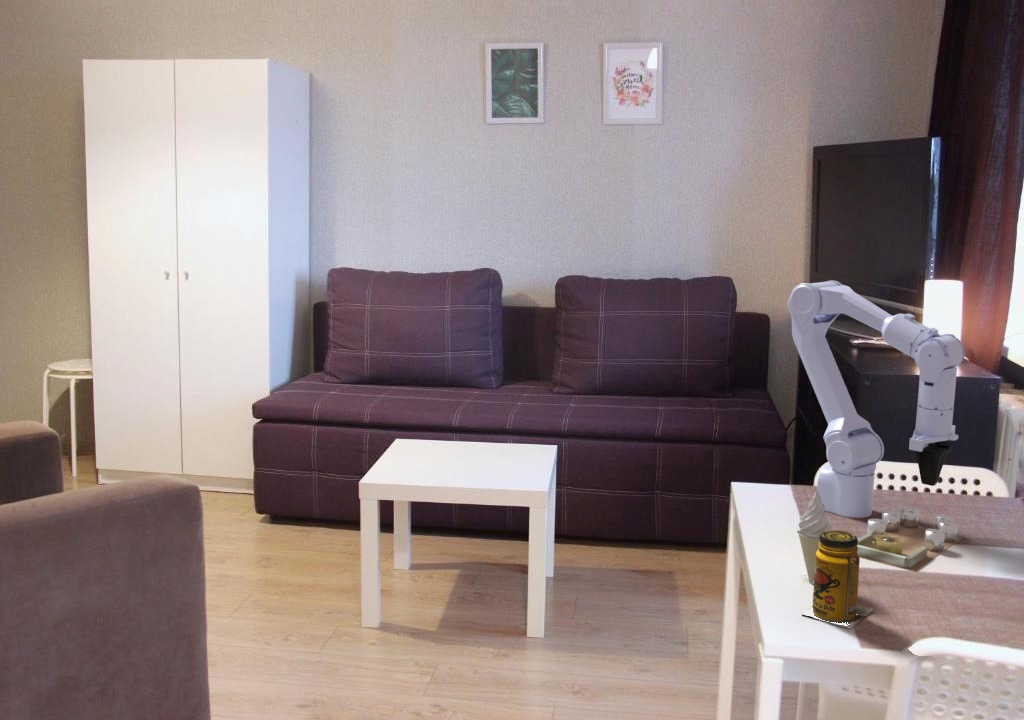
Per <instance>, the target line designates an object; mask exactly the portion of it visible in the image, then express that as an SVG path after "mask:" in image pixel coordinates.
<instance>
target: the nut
mask: <svg viewBox="0 0 1024 720" xmlns="http://www.w3.org/2000/svg"><path fill="white" fill-rule="evenodd" d="M902 545H903V542H902V540H901V538H899V537H895V536H890V535H879V536H875V542H874V549H877V550H881V551H885V552H889V553H893V554H897V555H901V556H902Z"/></svg>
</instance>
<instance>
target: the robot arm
mask: <svg viewBox="0 0 1024 720" xmlns="http://www.w3.org/2000/svg"><path fill="white" fill-rule="evenodd" d="M787 300H788V301H787V302H786V307H787V309H788V311H789V314H790V317H791V336H792V339H793V343H794V345H795V347H796V350H797V351H798V354H799V357H800V359H801V361H802V364H803V366H804V369H805V372H806V374H807V376H808V379H809V381H810V383H811V386H812V388H813V390H814V391H813V392H814V394H815V395H816V398H817V401H818V403H819V405H820V407H821V410H822V413H823V415H824V418H825V420H826V422H827V428H826V430H825V432H824V435H823V441H824V443H825V446H826V451H825V452H826V453H825V454H826V459H827V462H828V463H829V465H828V464H827V465H825V466H823V467H822V468H821V470H820V472H819V474H818V478H817V484H816V490H818V493H819V496H820V499H821V501H822V503H823V505H824V507H825V509H824V510H825V512H829V513H832V514H835V515H838V516H841V517H846V518H854V519H855V518H856V519H858V518H859V519H861V518H862V519H863V518H866V517H870V516H871V515H872V513H873V501H874V487H875V486H874V485H875V476H876V475H875V473H876V472H875V471H876V469H877V463H879V462H880V461H881V460H882V458H883V457H884V452H885V446H884V442H883V440H882V438H881V437H880V436H879V435H878V434H877V433H876V432H875V431H874V429H872V426H871V423H870V422H869V421H868V420H867V419H865V418H863V417H862V416H860V415H859V414H858V412H857V409H856V408H855V405H854V403H853V399H852V398H851V396H850V394H849V393H850V392H849V391H848V387H847V386H846V384H845V381H844V378H843V377H842V374H841V371H840V369H839V367H838V365H837V362H836V359H835V357H834V354H833V352H832V350H831V348H830V345H829V343H828V340H827V338H826V334H827V332H828V329H829V328H830V326H831V324H833V322H834V321H835V320H836V319H837V317H838V316H839V315H841V314H844V315H846V316H848V317H851V318H852V319H854V320H856V321H858V322H861V323H863V324H864V325H867V326H868V327H870V328H872V329H874V330H876V331H879V332H881V336H882V340H883V341H884V342H885V343H886V344H887V345H889V346H891V347H893V348H895V349H896V350H898V351H900V352H902V353H903V354H904V355H906V356H909V357H911V358H912V359H914V362H915V364H916V366H917V367H918V371H919V375H918V376H919V377H918V378H919V383H918V394H917V405H916V406H917V407H916V416H915V418H916V419H915V429H914V430H913V434H912V437H911V438H910V437H909V447H908V450H910V451H912V452H913V454H914V456H915V458H916V462H917V465H918V470H919V475H920V476H919V477H920V482H921V484H923V485H926V486H932V487H934V486H936V485H937V483H938V480H939V479H940V476H941V471H942V470H943V467H944V464H945V461H946V460H947V457H948V456H949V454H950V453H951V452H952V450H953V449H954V444H953V443H951V442H946V441H953V442H954V441H957V440H959V434H956V425H953V418H954V409H955V407H954V405H955V399H956V397H955V396H956V384H957V375H958V373H957V372H958V367H959V365H961V364H962V362H963V361H964V358H965V355H966V351H965V350H966V349H965V347H964V344H963V342H962V341H961V340H960V339H959V338H957V337H956V336H955V335H954V334H951V333H945V334H940V333H939V330H938V329H937V328H935V327H928V326H926V325H924V324H923V323H921V322H919V321H917V320H915V318H916V316H915V315H913V314H911V313H897V314H895V315H892V314H891V313H888V312H887V311H885V310H884V309H882V308H880V307H879V306H877V305H876V304H874V303H872V302H871V301H870V300H868V299H866V298H865V297H863V296H861V295H860V294H858V293H857V292H855V291H854V290H853V289H852V288H851V287H850V286H848V285H845V284H842V283H841V282H840V281H837V280H832V279H831V280H827V281H821V282H819V281H818V282H812V283H811V282H810V283H808V282H807V283H805V282H804V283H803V282H802V283H800V284H797V285H796V286H795V287H793V288H792V291H791V293H790V295H789V298H788V299H787Z"/></svg>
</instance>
